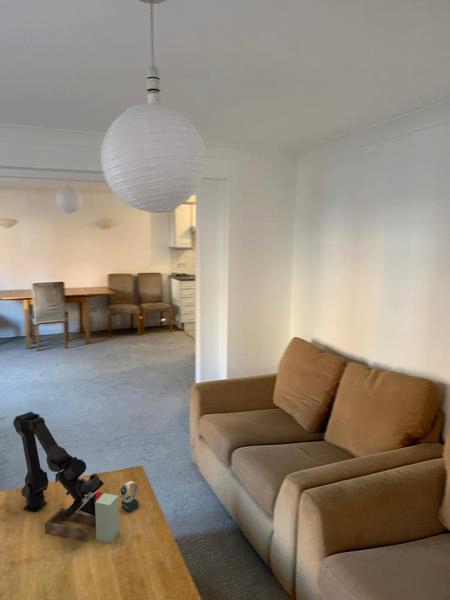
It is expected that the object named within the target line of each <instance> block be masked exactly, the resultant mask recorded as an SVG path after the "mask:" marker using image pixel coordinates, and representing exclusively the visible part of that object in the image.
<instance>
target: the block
mask: <svg viewBox="0 0 450 600" xmlns="http://www.w3.org/2000/svg"><path fill="white" fill-rule="evenodd" d="M95 514H96V526H95V534H96V535H95V537H96V541H98V542H103V543H108V544H112V543H113V541H115V539H116V538H117V537H118V535H119V534H120V517H119V516H120V514H119V495H116V494H110V493H105V492H103V495H102V496H101V497H100V498H99V499H98V500H97V501H96V502H95Z"/></svg>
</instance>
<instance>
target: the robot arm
mask: <svg viewBox="0 0 450 600" xmlns="http://www.w3.org/2000/svg"><path fill="white" fill-rule="evenodd" d="M12 424H13V426H14V429H15V432H16V433H17V434H18V435H19V436H20V437H21V442H22V447H23V452H24V457H25V463H26V469H27V473H26V475H25V478H24V485H23V487H22V488H21V490H20V492H21V496H23V497H24V498H25V502H26V504H25V506H24V507H23V510H25V511H30V512H34V513H35V512H36V513H38V512H39V511H40V510H41V509H42V508H44V506H45V505H46V504H48V502H47V501H46V500H45V499H46V498H45V492H44V491H46V490H48V487H49V478H48V473H47V472H46V471H45V470H43V469H42V468H41V464H40V458H39V457H40V456H39V450H38V447H37V440H38V442H39V445H41V447H42V449H43V450H44V452H45V454H46V464H47V466H48V467H47V468H48V469H49V470H50V472H53V473H56V474H55V476H54V477H55V479H54V482H56V483H58V482H59V483H60V484H61V486H62V487H63V488H64V489H65V491H66V492H65V495H66V496H69V495H70V496H71V498H72V499H73V501H72V504H70V505H69V507H67V508H66V509H67V510H66V511H64V516H65V518H66V519H68V518H69V517H71V516H72V515H73V514H74V513H75V512H76V511H78V512H79V511H80V512H85V513H88V514H91V515H93V516H96V514H95V502H96V495H97V493H96V494H94V493H95V492H96V491H98V490H99V489H100V488H101V487H102V486H104V485H105V483H104V481H103V480H101V479H100V477H99V476H98V474H97V473H93V474H91V475H90V476H89V479H87V480H86V479H85V478H81V479H80V476H82V475H83V474H84V473H85V471H86V469H87V464H86V462H85V461H84V460H82V459H79V458H77V456H72V455H71V454H69V453H68V452H67V451H66V449H65V448H64V447H61V446H60V445H59V444H58V443H57V441H56V439H55V438H54V437H53V435H52V433H51V432H50V430H49V427H47V425H46V420H45V419H44V418H43V417H42V416H41V415H40V414H39V413H34V412H33V411H29V412H26V413H23V414H20V415H17V416H15V417H14V419H13V423H12ZM36 438H37V440H36ZM85 495H86V496H85ZM81 499H82V500H81Z"/></svg>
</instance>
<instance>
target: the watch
mask: <svg viewBox="0 0 450 600" xmlns="http://www.w3.org/2000/svg"><path fill="white" fill-rule="evenodd" d="M131 485H134V487H133V490H132V493H131V495H130V492H131V490H130V489H131ZM118 493H119V495H118V496H119V497H120V499H121V501H120V503H121V509H123V510H125V511H126V512H128V513H132V512H134V511H135V510H138V509H139V501H138V500H137V499H136V497H137V495H138V493H139V485H138V483H137V482H135V481H133V480H129V481H126V482H125V483H124V484H122V485H121V486H120V488H119V491H118Z"/></svg>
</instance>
